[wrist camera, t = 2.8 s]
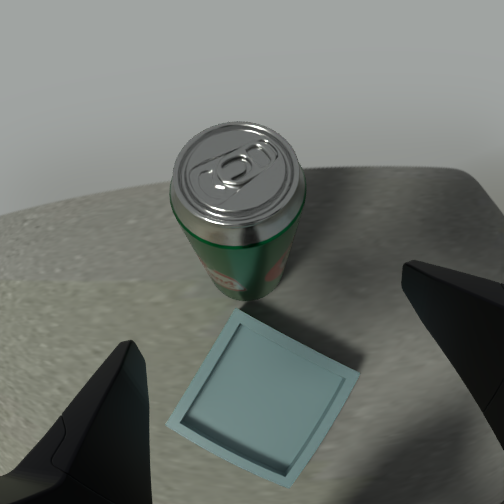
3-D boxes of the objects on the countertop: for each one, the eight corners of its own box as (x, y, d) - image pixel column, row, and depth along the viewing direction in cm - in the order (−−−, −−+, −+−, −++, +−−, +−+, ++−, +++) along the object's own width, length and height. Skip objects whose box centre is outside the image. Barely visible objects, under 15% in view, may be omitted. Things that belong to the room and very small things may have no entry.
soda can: (196, 258, 21) (139, 157, 10) (255, 220, 22) (254, 96, 11) (237, 317, 20) (210, 270, 9) (297, 275, 21) (341, 184, 10)
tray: (286, 479, 16) (289, 488, 15) (171, 420, 18) (165, 425, 16) (352, 372, 19) (360, 373, 17) (237, 311, 20) (235, 307, 19)
